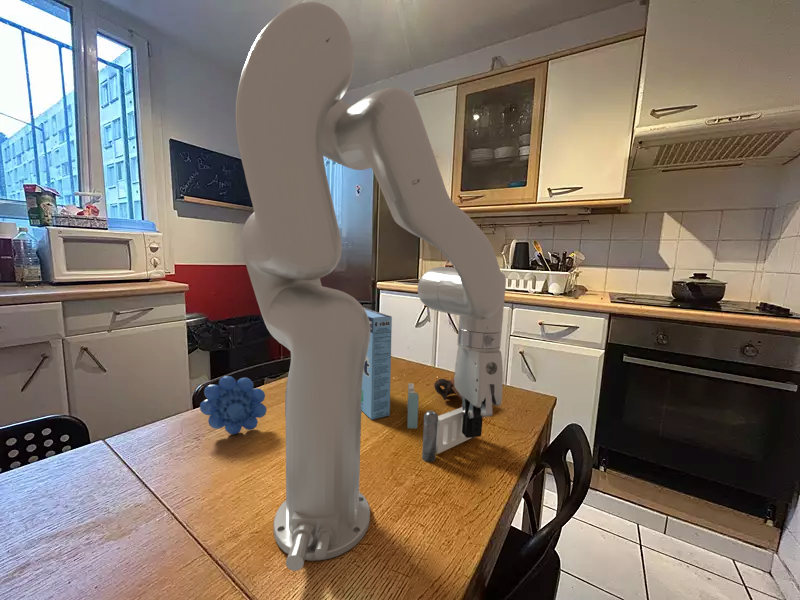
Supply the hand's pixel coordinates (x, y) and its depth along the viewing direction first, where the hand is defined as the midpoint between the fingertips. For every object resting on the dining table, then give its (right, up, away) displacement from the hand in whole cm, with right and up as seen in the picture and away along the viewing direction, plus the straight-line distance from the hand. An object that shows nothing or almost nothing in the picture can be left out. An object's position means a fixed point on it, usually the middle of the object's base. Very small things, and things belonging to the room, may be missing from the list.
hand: (471, 434), depth 63 cm
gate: (-3, -3, +2) cm, 5 cm away
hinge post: (-8, -3, -2) cm, 9 cm away
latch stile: (-11, -2, +9) cm, 14 cm away
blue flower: (-45, -2, +3) cm, 45 cm away
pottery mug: (+1, -1, +22) cm, 22 cm away
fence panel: (-11, -1, +14) cm, 18 cm away
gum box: (-23, 0, +20) cm, 31 cm away
